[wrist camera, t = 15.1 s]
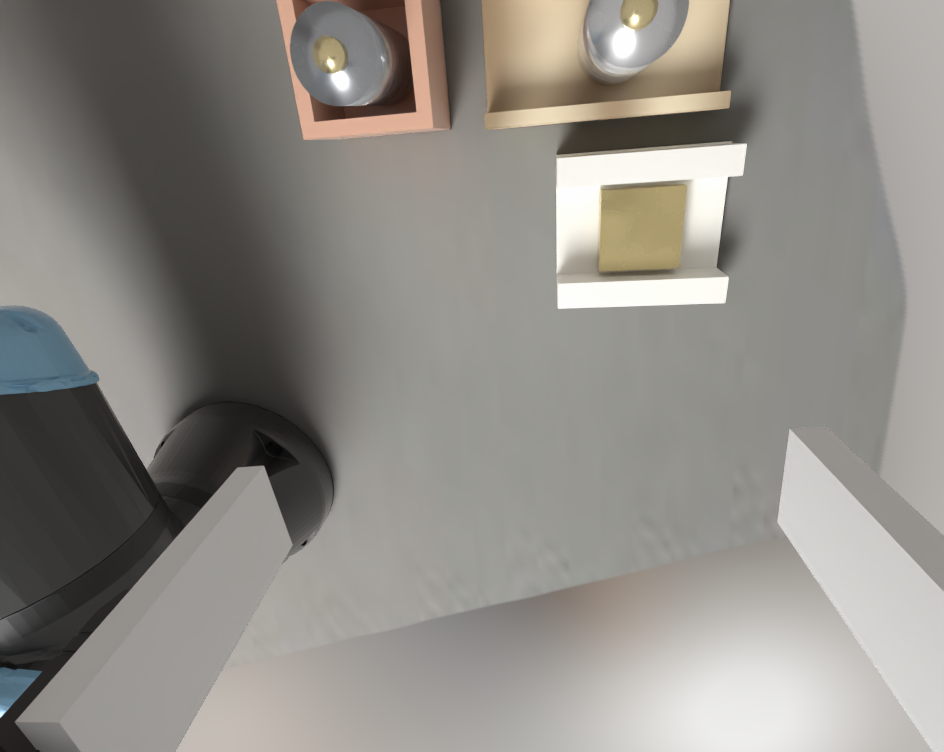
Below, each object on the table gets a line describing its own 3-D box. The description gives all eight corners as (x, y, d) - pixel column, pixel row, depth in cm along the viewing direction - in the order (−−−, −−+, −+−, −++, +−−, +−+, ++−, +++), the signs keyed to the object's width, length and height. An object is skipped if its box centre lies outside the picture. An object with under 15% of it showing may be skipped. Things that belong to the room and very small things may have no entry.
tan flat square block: (597, 267, 33) (599, 271, 32) (599, 189, 31) (601, 190, 30) (674, 263, 32) (679, 268, 31) (682, 183, 30) (687, 185, 29)
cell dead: (346, 96, 31) (282, 94, 23) (353, 17, 29) (285, -12, 21) (410, 112, 31) (367, 115, 23) (421, 35, 29) (377, 10, 21)
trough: (489, 129, 31) (485, 129, 29) (481, -24, 28) (475, -38, 26) (714, 110, 29) (729, 107, 27) (732, -57, 26) (751, -76, 24)
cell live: (576, 88, 29) (588, 71, 21) (576, 4, 27) (589, -48, 20) (649, 80, 28) (688, 60, 21) (653, -6, 27) (698, -65, 19)
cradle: (557, 296, 35) (557, 310, 32) (556, 154, 31) (557, 156, 28) (710, 291, 33) (724, 304, 31) (728, 141, 30) (747, 141, 27)
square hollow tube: (340, 139, 32) (303, 139, 27) (317, 2, 29) (271, -25, 24) (450, 129, 31) (433, 128, 26) (438, -14, 28) (416, -45, 23)
